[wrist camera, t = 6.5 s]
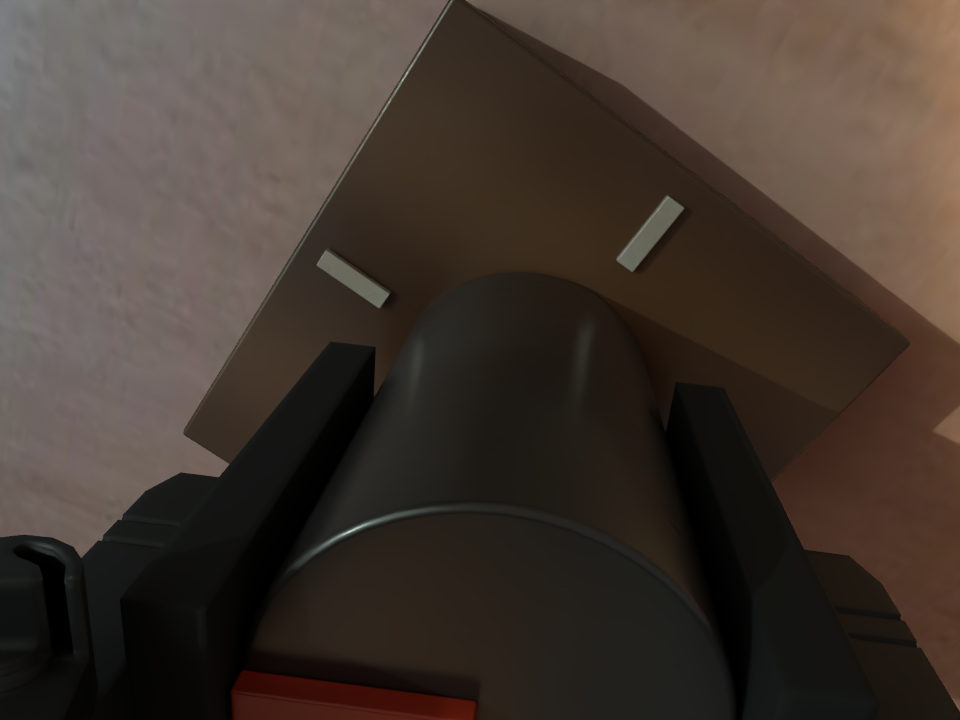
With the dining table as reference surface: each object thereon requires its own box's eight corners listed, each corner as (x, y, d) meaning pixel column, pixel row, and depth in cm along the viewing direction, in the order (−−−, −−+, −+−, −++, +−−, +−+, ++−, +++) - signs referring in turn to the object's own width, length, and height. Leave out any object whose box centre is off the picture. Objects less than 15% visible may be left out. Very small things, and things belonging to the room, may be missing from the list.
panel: (569, 609, 20) (571, 688, 17) (228, 387, 18) (176, 438, 16) (863, 303, 16) (917, 346, 14) (470, 2, 15) (451, -10, 12)
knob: (668, 284, 14) (802, 562, 6) (628, 515, 16) (696, 958, 8) (401, 258, 14) (212, 491, 6) (392, 487, 16) (234, 888, 8)
